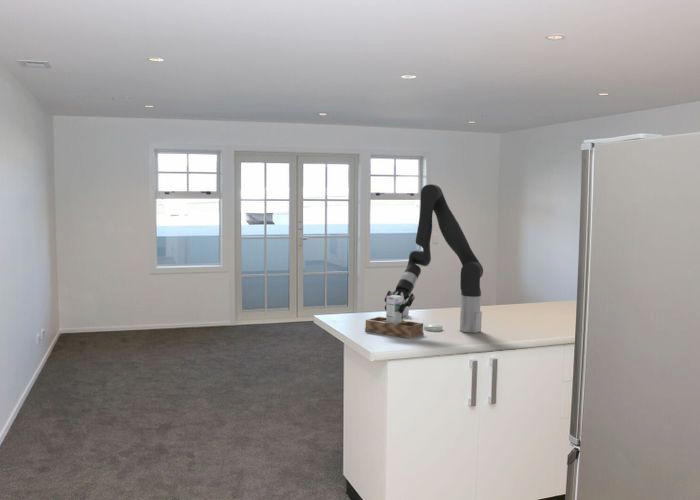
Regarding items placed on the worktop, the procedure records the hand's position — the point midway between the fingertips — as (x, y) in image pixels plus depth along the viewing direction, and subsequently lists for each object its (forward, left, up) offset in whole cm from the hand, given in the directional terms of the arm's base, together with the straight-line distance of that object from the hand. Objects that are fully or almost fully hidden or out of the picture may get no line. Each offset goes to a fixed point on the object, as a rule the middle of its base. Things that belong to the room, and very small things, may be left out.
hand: (393, 311), depth 312 cm
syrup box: (0, -1, -8) cm, 8 cm away
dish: (-10, -21, -11) cm, 25 cm away
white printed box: (+23, -44, -11) cm, 51 cm away
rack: (0, -1, -10) cm, 10 cm away
